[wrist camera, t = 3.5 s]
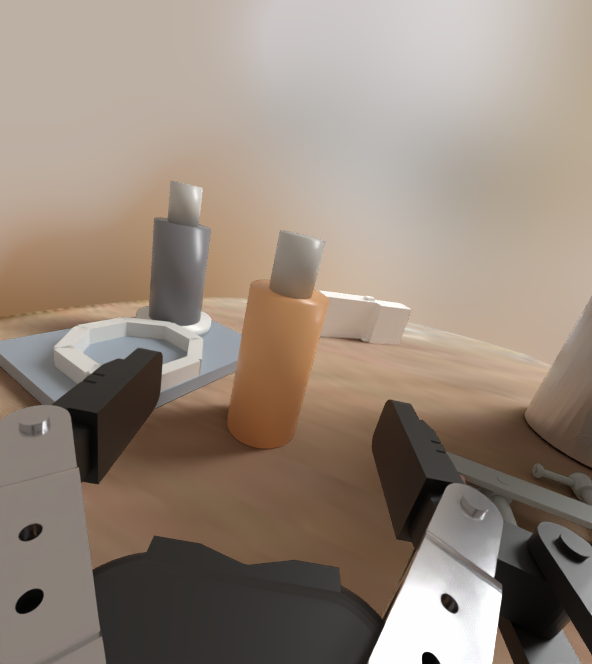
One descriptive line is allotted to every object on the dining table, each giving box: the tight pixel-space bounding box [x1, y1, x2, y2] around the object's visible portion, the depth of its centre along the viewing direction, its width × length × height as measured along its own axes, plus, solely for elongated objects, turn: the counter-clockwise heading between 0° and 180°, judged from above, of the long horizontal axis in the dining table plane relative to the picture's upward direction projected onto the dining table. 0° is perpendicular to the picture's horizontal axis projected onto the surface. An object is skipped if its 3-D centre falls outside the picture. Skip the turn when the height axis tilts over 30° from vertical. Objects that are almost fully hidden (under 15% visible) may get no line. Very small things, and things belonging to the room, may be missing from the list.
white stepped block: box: [318, 290, 412, 345], centre depth 39 cm, size 15×11×6 cm
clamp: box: [446, 451, 592, 530], centre depth 18 cm, size 15×2×10 cm
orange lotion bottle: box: [227, 231, 330, 449], centre depth 19 cm, size 4×4×12 cm
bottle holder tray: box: [0, 181, 242, 408], centre depth 23 cm, size 16×11×13 cm
